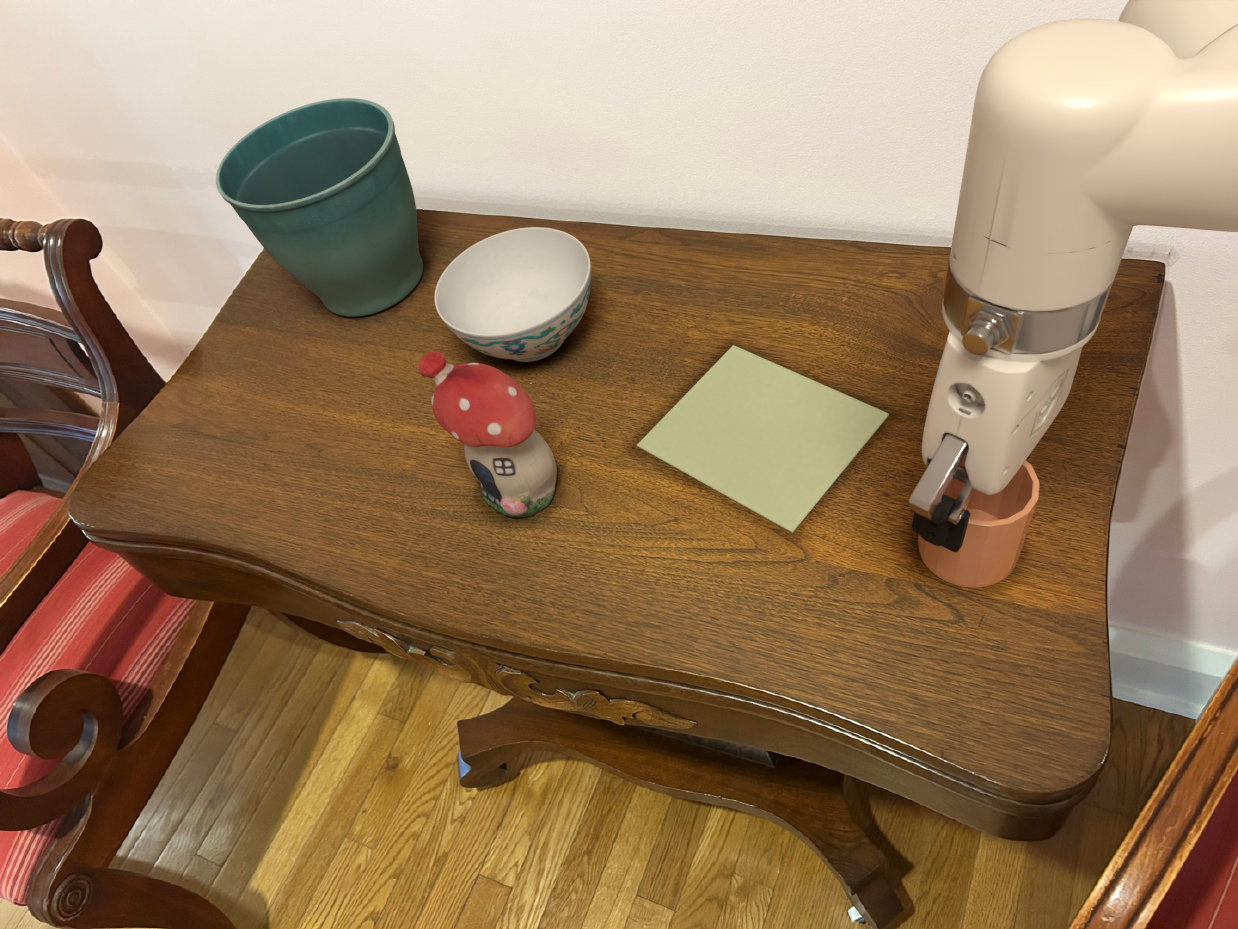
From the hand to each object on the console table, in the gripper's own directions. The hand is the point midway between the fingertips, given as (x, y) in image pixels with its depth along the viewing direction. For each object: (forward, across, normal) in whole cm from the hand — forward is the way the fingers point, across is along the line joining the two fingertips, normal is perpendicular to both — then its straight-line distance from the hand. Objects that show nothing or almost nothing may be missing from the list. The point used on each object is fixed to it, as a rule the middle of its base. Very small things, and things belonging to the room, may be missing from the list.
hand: (973, 487), depth 56 cm
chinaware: (+8, -1, +44) cm, 45 cm away
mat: (+8, +1, +18) cm, 20 cm away
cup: (+7, 0, 0) cm, 8 cm away
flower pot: (+9, -4, +68) cm, 68 cm away
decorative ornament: (+8, -15, +32) cm, 37 cm away
